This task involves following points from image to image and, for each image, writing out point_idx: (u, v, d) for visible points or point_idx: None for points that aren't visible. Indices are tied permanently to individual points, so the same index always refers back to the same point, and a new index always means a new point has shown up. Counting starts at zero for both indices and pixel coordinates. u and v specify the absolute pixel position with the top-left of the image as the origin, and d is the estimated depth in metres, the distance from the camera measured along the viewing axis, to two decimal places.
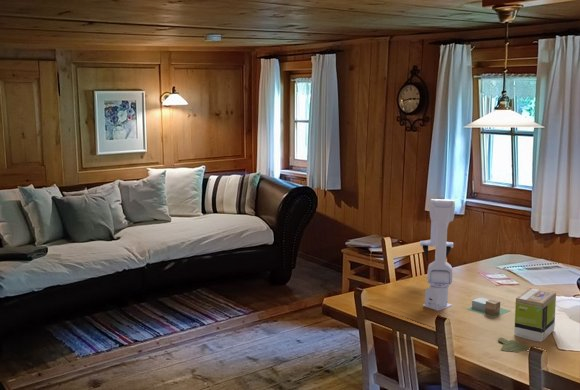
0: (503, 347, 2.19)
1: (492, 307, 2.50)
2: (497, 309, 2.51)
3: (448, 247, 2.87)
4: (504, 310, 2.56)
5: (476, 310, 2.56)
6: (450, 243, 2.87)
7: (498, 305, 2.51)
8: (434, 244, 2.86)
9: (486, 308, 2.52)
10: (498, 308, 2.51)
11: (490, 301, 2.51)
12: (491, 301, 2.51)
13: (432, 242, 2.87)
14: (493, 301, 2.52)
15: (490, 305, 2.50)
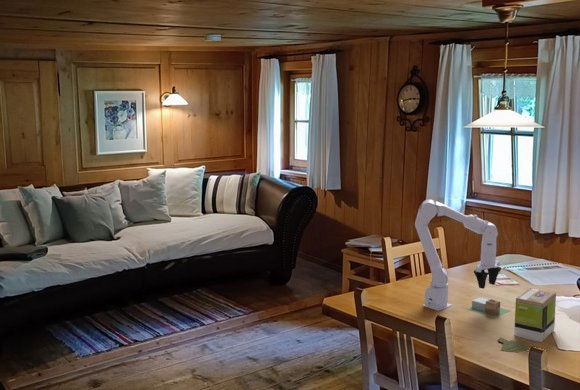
0: (503, 347, 2.19)
1: (492, 307, 2.50)
2: (497, 309, 2.51)
3: None
4: (504, 310, 2.56)
5: (476, 310, 2.56)
6: (479, 267, 2.52)
7: (498, 305, 2.51)
8: None
9: (486, 308, 2.52)
10: (498, 308, 2.51)
11: (490, 301, 2.51)
12: (491, 301, 2.51)
13: None
14: (493, 301, 2.52)
15: (490, 305, 2.50)
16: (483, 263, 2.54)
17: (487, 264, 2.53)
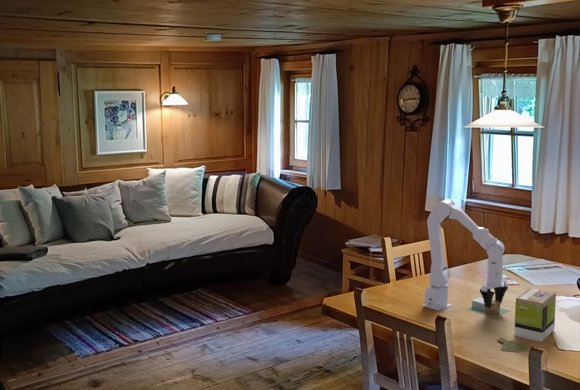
0: (503, 347, 2.19)
1: (492, 307, 2.50)
2: (497, 309, 2.51)
3: None
4: (504, 310, 2.56)
5: (476, 310, 2.56)
6: (485, 286, 2.47)
7: (498, 305, 2.51)
8: None
9: (486, 308, 2.52)
10: (498, 308, 2.51)
11: None
12: None
13: None
14: (493, 301, 2.52)
15: None
16: (489, 282, 2.49)
17: (493, 283, 2.48)
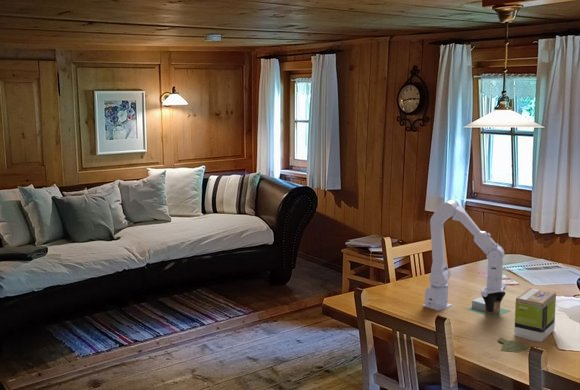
0: (503, 347, 2.19)
1: None
2: (497, 309, 2.51)
3: None
4: (504, 310, 2.56)
5: (476, 310, 2.56)
6: (484, 291, 2.47)
7: (498, 305, 2.51)
8: None
9: None
10: (498, 308, 2.51)
11: None
12: None
13: None
14: None
15: None
16: (489, 287, 2.49)
17: (493, 288, 2.48)
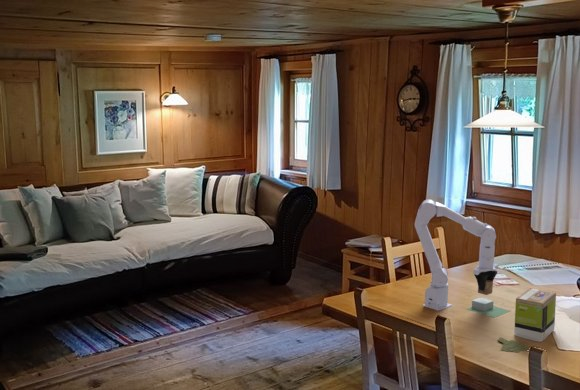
0: (503, 347, 2.19)
1: (485, 286, 2.54)
2: (490, 288, 2.55)
3: None
4: (504, 310, 2.56)
5: (476, 310, 2.56)
6: (476, 269, 2.52)
7: (491, 284, 2.55)
8: None
9: None
10: (490, 288, 2.55)
11: None
12: None
13: None
14: (486, 280, 2.56)
15: None
16: (481, 266, 2.54)
17: (485, 267, 2.53)
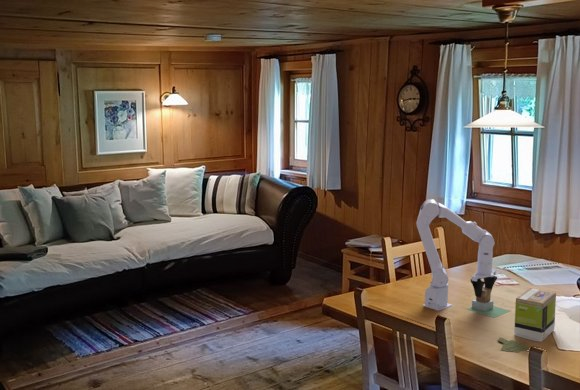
0: (503, 347, 2.19)
1: (483, 295, 2.56)
2: (488, 296, 2.57)
3: None
4: (504, 310, 2.56)
5: (476, 310, 2.56)
6: (475, 276, 2.53)
7: (489, 292, 2.57)
8: None
9: None
10: (488, 295, 2.57)
11: None
12: (482, 289, 2.57)
13: None
14: (484, 288, 2.58)
15: None
16: (479, 272, 2.55)
17: (483, 273, 2.54)
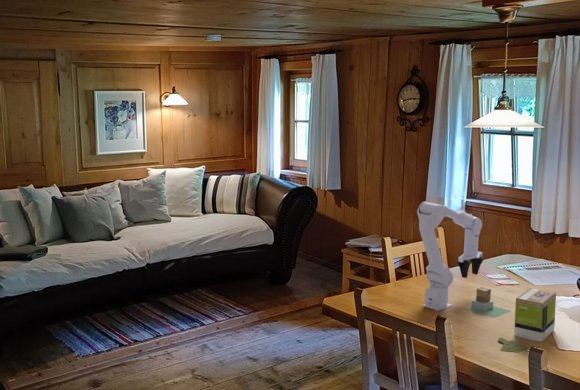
0: (503, 347, 2.19)
1: (483, 295, 2.56)
2: (488, 296, 2.57)
3: None
4: (504, 310, 2.56)
5: (476, 310, 2.56)
6: (461, 257, 2.65)
7: (489, 292, 2.57)
8: None
9: (477, 295, 2.58)
10: (488, 295, 2.57)
11: (481, 289, 2.57)
12: (482, 289, 2.57)
13: None
14: (484, 288, 2.58)
15: (481, 293, 2.57)
16: (466, 254, 2.67)
17: (469, 255, 2.66)
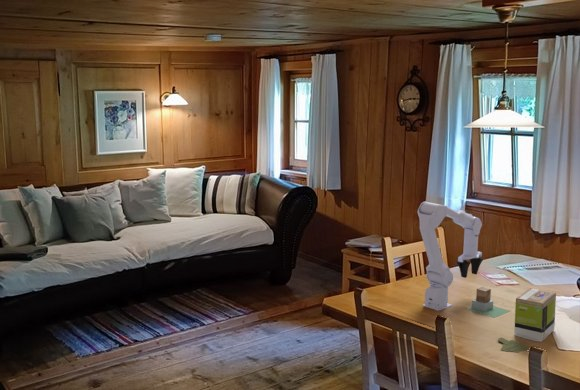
0: (503, 347, 2.19)
1: (483, 295, 2.56)
2: (488, 296, 2.57)
3: None
4: (504, 310, 2.56)
5: (476, 310, 2.56)
6: (461, 257, 2.66)
7: (489, 292, 2.57)
8: None
9: (477, 295, 2.58)
10: (488, 295, 2.57)
11: (481, 289, 2.57)
12: (482, 289, 2.57)
13: None
14: (484, 288, 2.58)
15: (481, 293, 2.57)
16: (465, 253, 2.68)
17: (469, 254, 2.67)
